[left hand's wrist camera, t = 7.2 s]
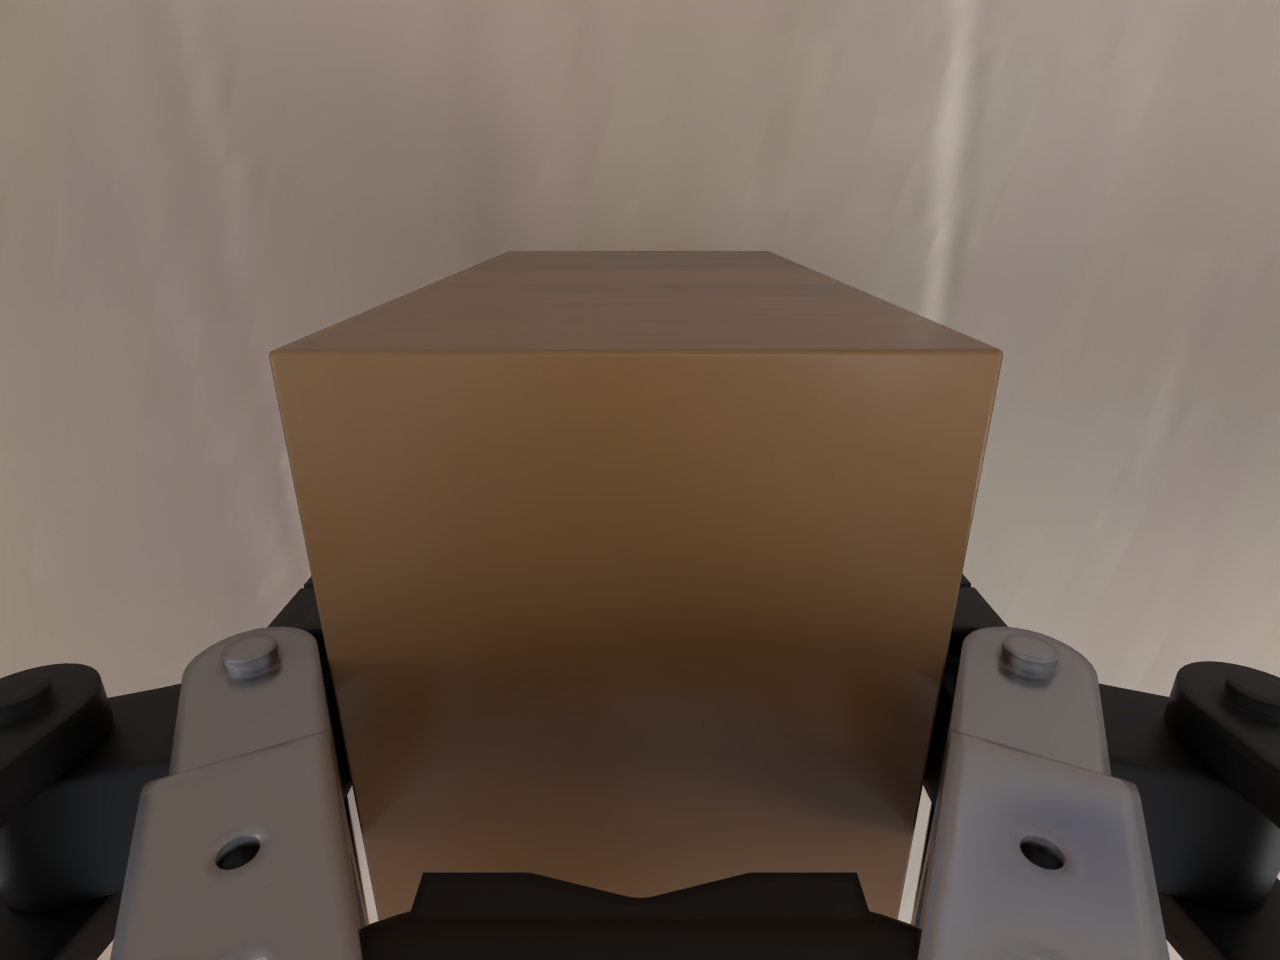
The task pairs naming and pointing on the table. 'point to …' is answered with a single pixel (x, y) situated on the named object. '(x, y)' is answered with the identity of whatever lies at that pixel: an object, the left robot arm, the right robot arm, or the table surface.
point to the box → (636, 566)
